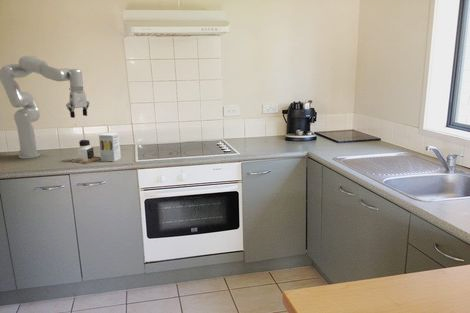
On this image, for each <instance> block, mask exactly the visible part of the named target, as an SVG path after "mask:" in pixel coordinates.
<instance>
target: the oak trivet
mask: <svg viewBox="0 0 470 313" xmlns="http://www.w3.org/2000/svg"><path fill="white" fill-rule="evenodd" d="M96 161H101V156H96V155H94V158H92V159H89V160H78V157H77V158H73V159H71V162H73V163H77V164H90V163H94V162H96Z"/></svg>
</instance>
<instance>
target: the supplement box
mask: <svg viewBox="0 0 470 313" xmlns="http://www.w3.org/2000/svg"><path fill="white" fill-rule="evenodd" d="M98 139H99V140H98V141H99V149H100V150H99V151H100V157H101V159H100V161H101V162H110V161H112V162H113V163H114V162H117V161H119V160H120V159H122V156H121V143H120V133H119V132H103V133H100V134H99V135H98Z"/></svg>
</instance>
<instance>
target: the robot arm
mask: <svg viewBox="0 0 470 313" xmlns="http://www.w3.org/2000/svg"><path fill="white" fill-rule="evenodd" d="M32 73H35V74H38V75H41V76H42V77H44V78H46V79H49V80H51V81H54V82H55V81H56V82H66V81H67V82H68V81H69V90H70V91H69V95H68V97H69V100H68V101H69V102H67V103H66V104H65V106H66V108H67V110H68V111H69V115H70V118H72V119H73V118H75V116H76V114H75V111H74V110H75V109H80V108H82V116H84V117H87V116H88V111H87V110H88V109H89V106H90V102H89V101H88V100H87V95H86V92H85V91H84V85H83V84H84V82H83V70H82V69H79V68H72V69H71V68H55V67H51V66H49V64H48V62H47V61H46V60H41V59H40V58H39V57H37V56H35V55H24V56H21V57H20V58H19V59H18V64H17V63H13V64H5V65H3V66H2V67H1V68H0V83H1V85H2V86H3V89H4V91H5V93H6V95H7V98H8V101H9V103H10V105H11V106H12V107H13V108H15V109H17V108H18V110H16V111H15V113H14V114H13V120H14V122H15V125H16V129H17V135H18V141H19V149H20V150H17V151H18V153H19V155H18V158H19V159H22V160H23V159H24V160H25V159H34V158H38V157H40V152H38V151H37V142H36V137H35V136H36V135H35V130H34V126H33V124H32V123H33V122H37V121H38V120H39V119H40V116H41V115H40V110H39V107H38V106H37V102H36V99H35V98H34V96H33V94H31V93H30V92H28V91H22V90H21V88H20V85H19V84H18V81H16V80H15V79H18V78H20V79H21V78H25V77H27V76H29V75H31V74H32ZM19 108H21V109H19Z"/></svg>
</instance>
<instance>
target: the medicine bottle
mask: <svg viewBox="0 0 470 313" xmlns="http://www.w3.org/2000/svg"><path fill="white" fill-rule="evenodd" d="M90 142H91V141H90V140H89V139H81V140H79V142H78V143H79V147H78V148H76V152H77V158H78V160H89V159H92V158H94V156H95V154H94V147H93V146H91V143H90Z"/></svg>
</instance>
